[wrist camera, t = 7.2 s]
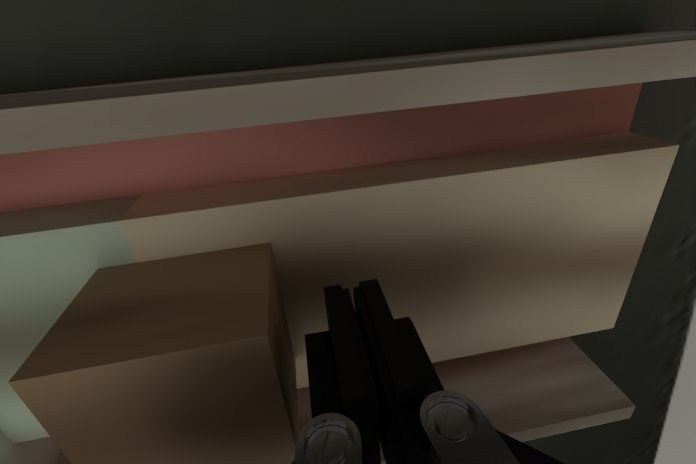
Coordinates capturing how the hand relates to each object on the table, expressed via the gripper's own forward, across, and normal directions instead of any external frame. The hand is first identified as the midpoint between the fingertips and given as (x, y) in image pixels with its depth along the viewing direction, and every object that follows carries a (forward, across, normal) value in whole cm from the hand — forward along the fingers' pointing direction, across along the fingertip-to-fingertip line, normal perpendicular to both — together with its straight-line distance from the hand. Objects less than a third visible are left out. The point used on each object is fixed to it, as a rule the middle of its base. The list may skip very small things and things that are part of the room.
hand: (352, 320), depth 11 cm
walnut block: (+1, +5, 0) cm, 5 cm away
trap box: (+4, +1, 0) cm, 4 cm away
